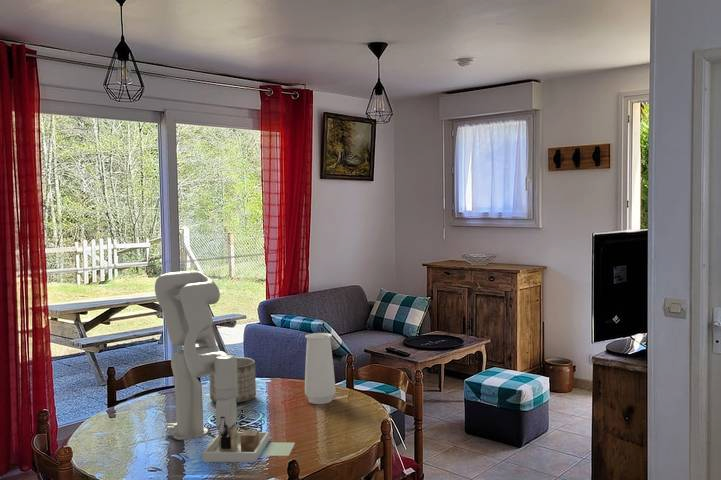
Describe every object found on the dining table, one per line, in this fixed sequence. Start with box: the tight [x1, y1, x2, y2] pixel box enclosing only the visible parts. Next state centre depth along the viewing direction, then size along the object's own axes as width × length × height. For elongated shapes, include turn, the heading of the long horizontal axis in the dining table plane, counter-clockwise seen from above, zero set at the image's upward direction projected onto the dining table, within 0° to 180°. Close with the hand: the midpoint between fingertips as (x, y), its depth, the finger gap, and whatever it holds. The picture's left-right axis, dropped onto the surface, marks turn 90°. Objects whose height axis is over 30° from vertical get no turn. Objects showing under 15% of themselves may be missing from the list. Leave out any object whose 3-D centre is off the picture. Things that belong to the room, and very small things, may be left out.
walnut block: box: [240, 429, 260, 452], centre depth 220 cm, size 5×5×6 cm
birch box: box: [217, 424, 238, 452], centre depth 221 cm, size 5×5×8 cm
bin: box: [201, 431, 270, 463], centre depth 221 cm, size 18×20×4 cm
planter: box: [209, 356, 257, 404], centre depth 281 cm, size 19×19×16 cm
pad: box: [261, 441, 296, 457], centre depth 221 cm, size 9×12×1 cm
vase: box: [304, 332, 336, 405], centre depth 277 cm, size 13×13×28 cm
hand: (228, 444), depth 221 cm, fingers closed on birch box, 5 cm apart
